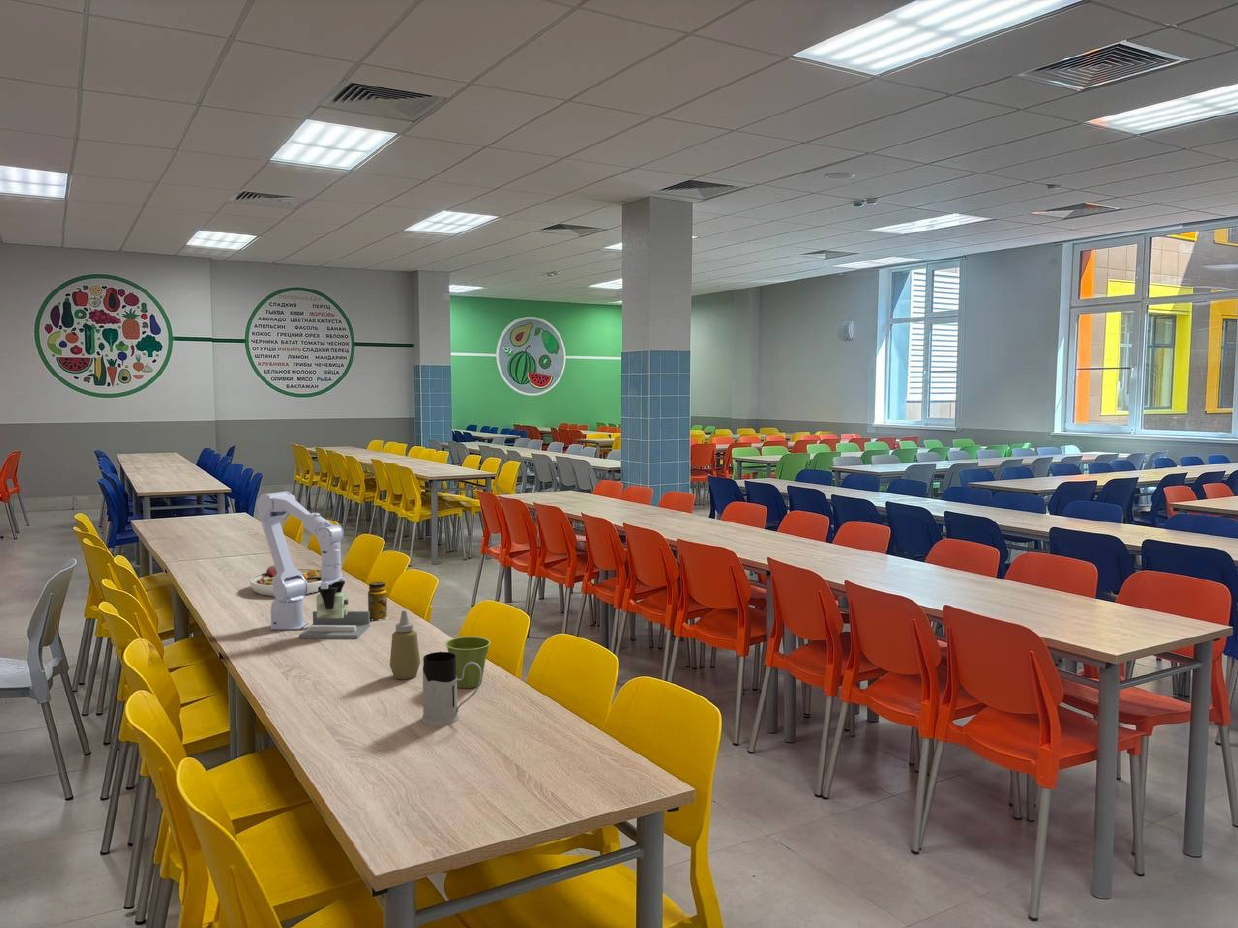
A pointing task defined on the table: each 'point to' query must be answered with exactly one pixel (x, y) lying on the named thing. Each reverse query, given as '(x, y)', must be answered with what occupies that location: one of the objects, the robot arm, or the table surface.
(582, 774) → the table surface
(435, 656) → the glass holder
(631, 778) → the table surface
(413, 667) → the squeeze bottle
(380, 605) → the condiment
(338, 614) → the block
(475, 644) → the plant pot
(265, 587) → the bowl
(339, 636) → the board
